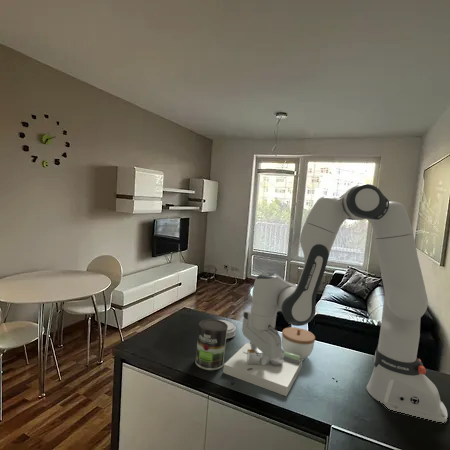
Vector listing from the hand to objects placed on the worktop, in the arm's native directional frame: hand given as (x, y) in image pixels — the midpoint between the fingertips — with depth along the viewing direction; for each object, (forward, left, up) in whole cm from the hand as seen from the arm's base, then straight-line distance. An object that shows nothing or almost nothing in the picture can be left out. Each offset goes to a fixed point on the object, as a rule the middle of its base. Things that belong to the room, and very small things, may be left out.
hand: (258, 359), depth 109 cm
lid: (+25, -20, -5) cm, 32 cm away
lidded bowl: (-8, -21, -5) cm, 23 cm away
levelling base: (-1, -3, -5) cm, 6 cm away
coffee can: (+17, +4, -5) cm, 18 cm away
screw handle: (-2, -3, -2) cm, 4 cm away
